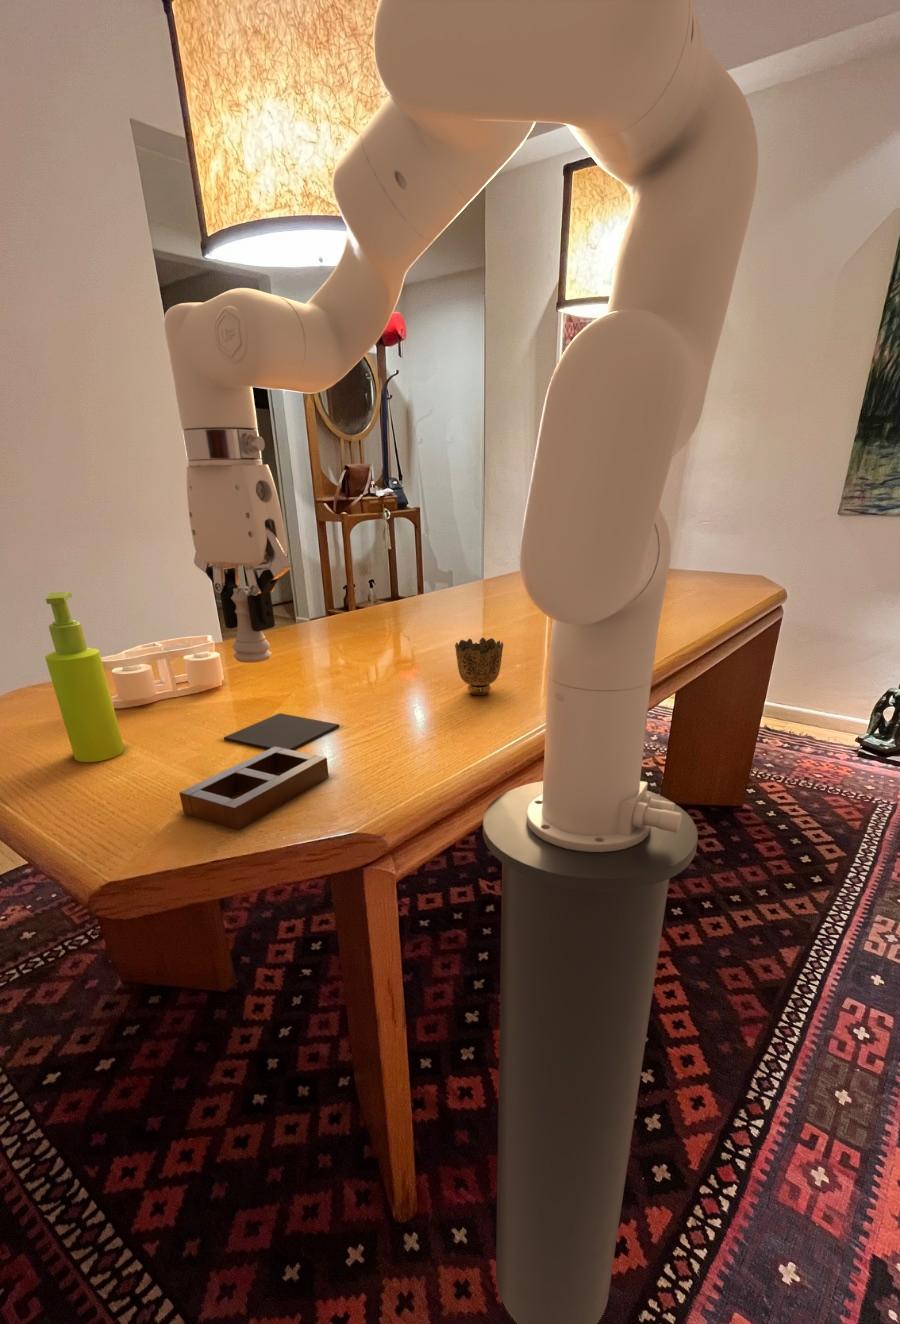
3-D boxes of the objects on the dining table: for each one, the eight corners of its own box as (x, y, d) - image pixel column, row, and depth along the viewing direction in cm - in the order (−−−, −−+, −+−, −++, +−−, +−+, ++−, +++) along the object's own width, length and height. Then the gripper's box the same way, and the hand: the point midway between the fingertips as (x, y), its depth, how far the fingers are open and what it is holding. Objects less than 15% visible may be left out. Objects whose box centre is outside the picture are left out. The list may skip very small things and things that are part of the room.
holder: (329, 777, 79) (326, 757, 78) (238, 830, 68) (234, 808, 67) (277, 765, 83) (274, 746, 82) (183, 813, 71) (178, 792, 70)
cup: (458, 701, 104) (457, 649, 100) (453, 687, 110) (452, 638, 107) (505, 699, 104) (506, 647, 101) (499, 685, 111) (499, 636, 107)
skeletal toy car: (116, 715, 101) (104, 667, 98) (94, 698, 109) (83, 653, 105) (240, 687, 113) (233, 643, 109) (213, 674, 120) (206, 633, 117)
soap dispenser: (126, 740, 92) (88, 587, 83) (122, 758, 86) (80, 596, 77) (79, 745, 90) (35, 591, 81) (71, 765, 84) (22, 600, 75)
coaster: (339, 727, 94) (339, 724, 94) (286, 753, 86) (285, 750, 86) (280, 715, 99) (279, 713, 99) (224, 740, 91) (223, 737, 91)
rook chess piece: (262, 651, 83) (255, 584, 79) (278, 659, 80) (271, 590, 76) (227, 656, 81) (218, 587, 77) (242, 665, 77) (233, 594, 74)
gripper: (308, 448, 70) (327, 627, 78) (194, 453, 77) (222, 616, 85) (258, 447, 64) (283, 641, 72) (140, 452, 71) (175, 628, 79)
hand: (250, 626), depth 78 cm, fingers closed on rook chess piece, 3 cm apart
